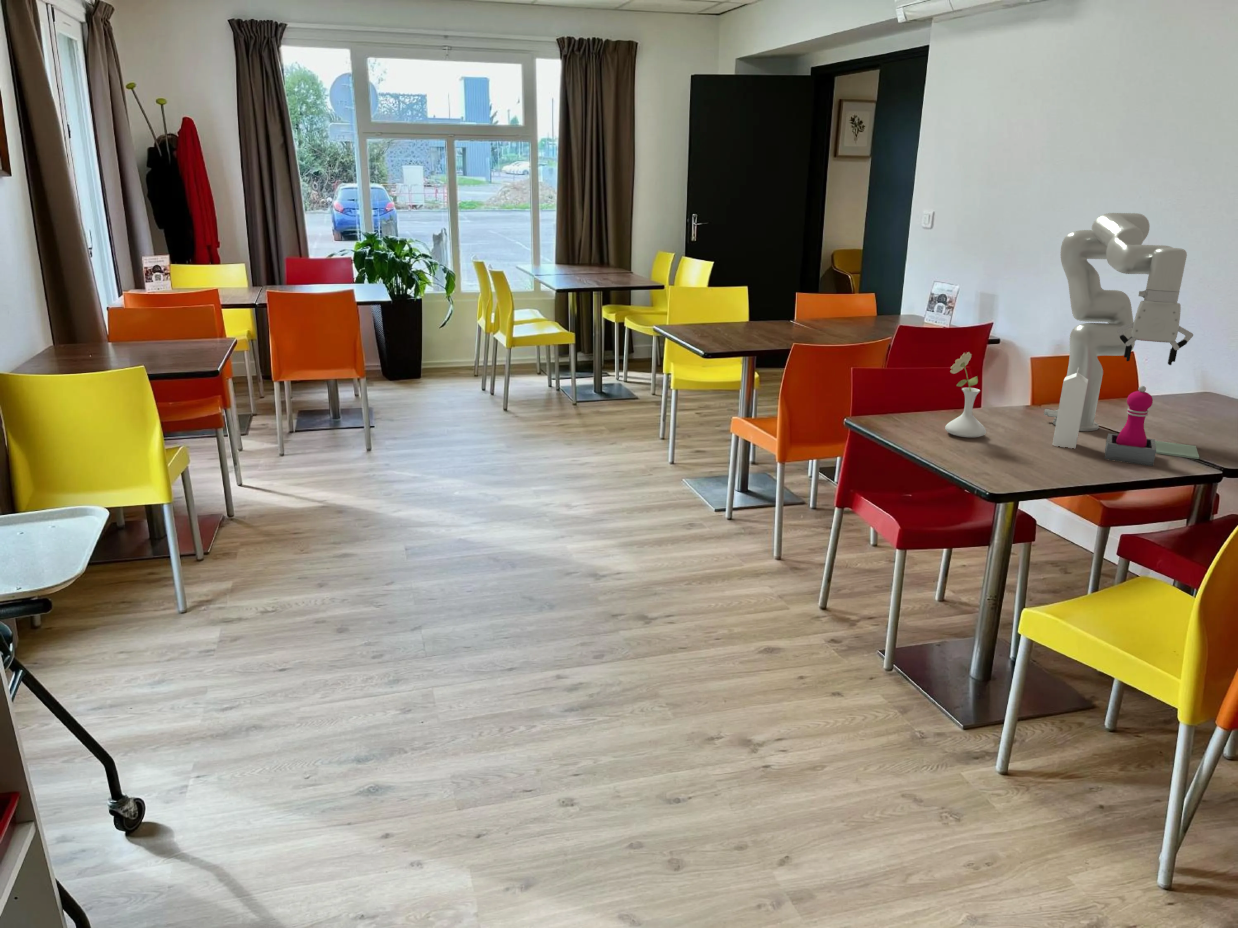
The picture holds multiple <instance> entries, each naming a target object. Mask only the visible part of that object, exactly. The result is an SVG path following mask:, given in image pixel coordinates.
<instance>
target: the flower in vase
mask: <svg viewBox="0 0 1238 928" xmlns="http://www.w3.org/2000/svg"><path fill="white" fill-rule="evenodd" d="M972 355H973V354H972V353H971V352H970V351H968V352H967V351H966V352H963V354H962V355H960V358H957V359H955V361H954V362H955V363H953V364H952V366H950V369H951V370H950V371H949V372H950V373H951V374H953V375H954V374H957V373H960V371H962V370H963V369H964V371H965V375H966V379H962V380H960V381H958V383H957V384H956V387H961V391H962V392H963V394H964V395H963V396H964V408H963V412H962V413H961V415H959V416H958V417H956V418H954V419H952V420H950V421H949V422H948V423H947V424H946V425H945V426H944V428H945V431H946V432H947V433H949V434H951V435H953V436H955V437H962V438H980V437H983V436H984V435H986V433H987V430H986V427H985V425H983V424H982V423H981V422H980V421H979V420H978V419H977V418H976V417H975V416H974V413H973V409H974V403H975V400H976V398H977V395H978V394H979V393H980V392H981V390H980V389H978V388H975V387H973V386H975V385H977V384H978V382H979V379H978V375H977V376H974V377H972V378H970V379H969V377H968V371H967V369H966V366H967V365H968V364H969V361H971V358H972ZM966 384H967V385H968V387H963V386H964V385H966Z"/></svg>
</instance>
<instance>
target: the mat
mask: <svg viewBox="0 0 1238 928" xmlns="http://www.w3.org/2000/svg"><path fill="white" fill-rule="evenodd" d="M1155 444H1156V454H1158V455H1165V456H1171V457H1173V456H1174V457H1180V458H1189V459H1193V460H1194V459H1195V460H1199V459H1200V455H1199V452H1198V449H1197V445H1190V444H1184V443H1183V444H1182V443H1175V442H1168V441H1159V440H1155ZM1156 454H1155V455H1156Z"/></svg>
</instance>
